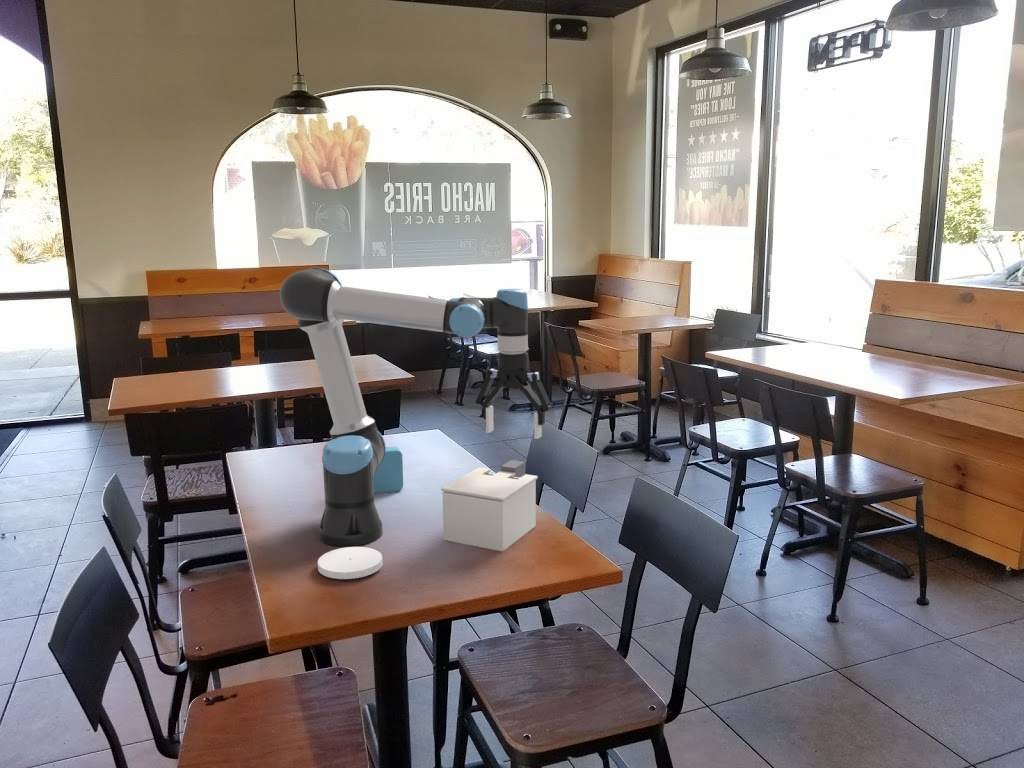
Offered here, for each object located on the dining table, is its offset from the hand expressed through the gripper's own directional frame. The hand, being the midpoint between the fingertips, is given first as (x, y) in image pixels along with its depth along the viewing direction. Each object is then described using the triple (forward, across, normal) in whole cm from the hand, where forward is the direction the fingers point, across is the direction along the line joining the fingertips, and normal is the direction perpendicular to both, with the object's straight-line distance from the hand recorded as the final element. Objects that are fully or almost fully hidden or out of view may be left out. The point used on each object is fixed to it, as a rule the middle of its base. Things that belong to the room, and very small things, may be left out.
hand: (513, 434), depth 210 cm
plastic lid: (+22, +18, +45) cm, 53 cm away
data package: (+22, +43, -2) cm, 48 cm away
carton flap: (+11, 0, +9) cm, 14 cm away
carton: (+22, 0, +13) cm, 25 cm away
